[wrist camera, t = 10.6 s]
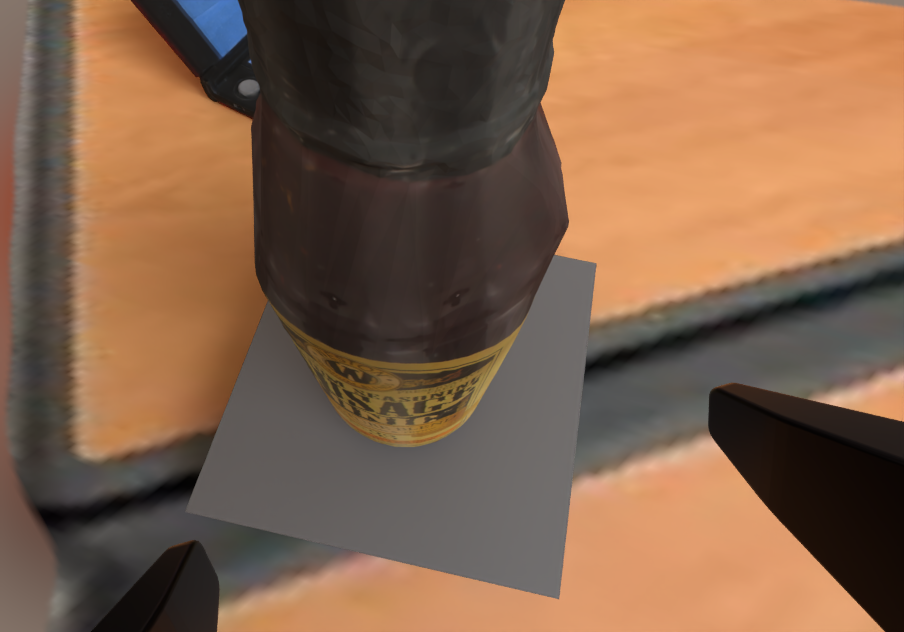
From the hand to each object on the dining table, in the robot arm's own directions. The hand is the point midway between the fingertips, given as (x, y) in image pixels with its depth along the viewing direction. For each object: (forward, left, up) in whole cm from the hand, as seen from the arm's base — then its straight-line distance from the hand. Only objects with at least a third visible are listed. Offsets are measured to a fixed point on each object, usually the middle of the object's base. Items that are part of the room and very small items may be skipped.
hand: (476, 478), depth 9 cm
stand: (+5, +3, -13) cm, 15 cm away
